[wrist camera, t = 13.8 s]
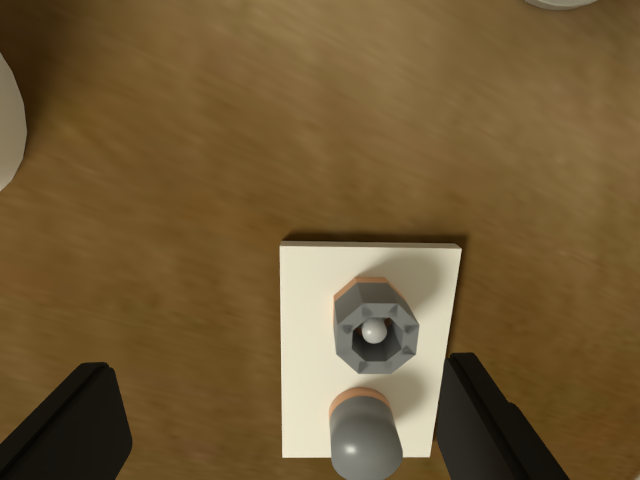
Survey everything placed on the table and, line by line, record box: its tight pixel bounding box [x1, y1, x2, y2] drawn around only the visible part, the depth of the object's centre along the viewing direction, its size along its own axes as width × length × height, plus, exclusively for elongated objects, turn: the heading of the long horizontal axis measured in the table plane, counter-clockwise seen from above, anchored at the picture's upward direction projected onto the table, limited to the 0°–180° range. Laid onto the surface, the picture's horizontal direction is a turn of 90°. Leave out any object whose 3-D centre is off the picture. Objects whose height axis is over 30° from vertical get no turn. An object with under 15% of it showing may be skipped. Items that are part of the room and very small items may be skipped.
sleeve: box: [333, 277, 420, 374], centre depth 29 cm, size 6×6×5 cm
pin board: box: [280, 241, 462, 480], centre depth 32 cm, size 16×24×6 cm, turn 179°
